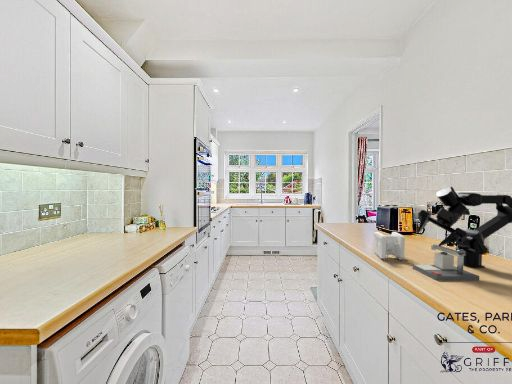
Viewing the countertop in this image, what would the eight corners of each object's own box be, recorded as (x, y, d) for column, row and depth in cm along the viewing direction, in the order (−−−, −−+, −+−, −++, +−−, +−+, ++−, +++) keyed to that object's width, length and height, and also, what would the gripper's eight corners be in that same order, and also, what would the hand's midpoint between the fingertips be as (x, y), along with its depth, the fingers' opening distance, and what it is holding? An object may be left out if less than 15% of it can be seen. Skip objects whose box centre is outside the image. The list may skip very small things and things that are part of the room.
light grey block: (444, 265, 105) (445, 251, 105) (453, 269, 101) (454, 254, 101) (434, 265, 105) (434, 251, 105) (442, 269, 101) (442, 253, 101)
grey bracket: (435, 262, 109) (436, 242, 109) (466, 274, 94) (467, 251, 94) (429, 262, 109) (429, 242, 109) (459, 274, 94) (460, 251, 93)
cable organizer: (405, 262, 116) (406, 236, 116) (380, 260, 118) (381, 235, 118) (394, 254, 131) (394, 231, 130) (372, 252, 133) (372, 230, 132)
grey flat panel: (450, 268, 107) (450, 263, 107) (479, 280, 94) (479, 274, 94) (412, 268, 107) (412, 263, 107) (436, 280, 93) (436, 274, 93)
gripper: (431, 193, 111) (406, 217, 110) (480, 215, 98) (453, 243, 96) (430, 207, 119) (407, 230, 117) (475, 230, 105) (450, 256, 104)
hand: (427, 238), depth 108 cm, fingers open, 9 cm apart
